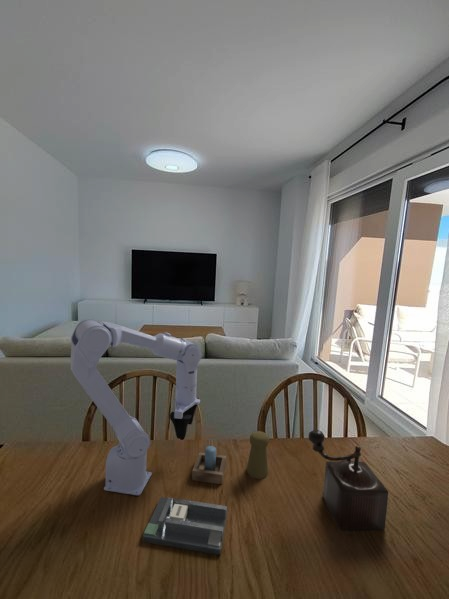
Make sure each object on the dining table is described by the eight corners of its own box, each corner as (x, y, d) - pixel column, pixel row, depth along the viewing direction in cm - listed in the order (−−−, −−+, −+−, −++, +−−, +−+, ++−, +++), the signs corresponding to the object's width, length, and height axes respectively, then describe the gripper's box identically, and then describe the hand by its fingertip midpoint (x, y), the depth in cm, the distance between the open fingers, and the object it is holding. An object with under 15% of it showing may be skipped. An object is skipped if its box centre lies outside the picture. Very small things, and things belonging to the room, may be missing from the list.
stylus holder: (192, 480, 78) (192, 470, 77) (198, 460, 86) (199, 452, 85) (221, 484, 77) (222, 474, 76) (226, 464, 85) (226, 455, 84)
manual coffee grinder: (359, 492, 76) (366, 426, 74) (386, 530, 65) (394, 454, 63) (301, 493, 75) (306, 426, 73) (317, 532, 64) (324, 454, 62)
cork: (267, 480, 79) (270, 441, 78) (245, 476, 80) (247, 438, 79) (268, 466, 85) (271, 429, 84) (247, 462, 86) (249, 426, 85)
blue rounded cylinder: (203, 472, 80) (204, 452, 79) (205, 465, 83) (206, 445, 82) (214, 474, 79) (215, 453, 79) (215, 466, 82) (216, 446, 82)
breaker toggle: (169, 523, 62) (169, 515, 62) (174, 510, 66) (174, 503, 66) (183, 525, 62) (183, 517, 62) (187, 512, 65) (187, 505, 65)
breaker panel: (142, 541, 60) (142, 527, 59) (160, 501, 70) (161, 489, 70) (220, 555, 58) (221, 540, 57) (227, 512, 68) (227, 499, 68)
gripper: (194, 396, 74) (192, 447, 75) (205, 376, 88) (203, 419, 90) (167, 393, 75) (165, 444, 76) (182, 374, 89) (181, 416, 91)
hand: (184, 430), depth 83 cm, fingers open, 7 cm apart
